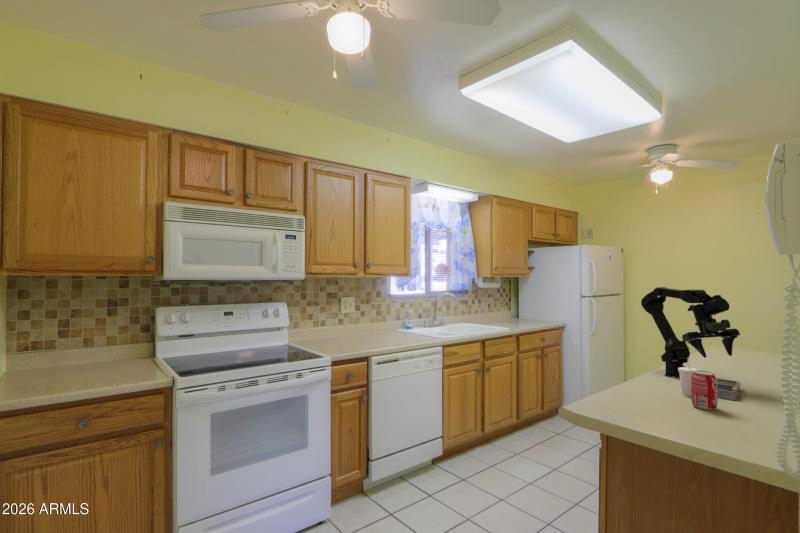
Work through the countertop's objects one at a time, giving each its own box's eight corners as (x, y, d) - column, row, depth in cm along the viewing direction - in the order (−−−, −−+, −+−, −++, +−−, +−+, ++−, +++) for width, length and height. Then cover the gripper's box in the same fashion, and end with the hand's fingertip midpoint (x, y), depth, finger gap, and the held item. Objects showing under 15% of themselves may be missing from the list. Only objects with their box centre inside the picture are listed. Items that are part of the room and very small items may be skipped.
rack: (698, 394, 150) (698, 385, 150) (706, 384, 165) (706, 376, 165) (735, 400, 143) (735, 391, 143) (740, 389, 157) (740, 381, 157)
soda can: (712, 405, 137) (712, 370, 138) (721, 412, 131) (720, 375, 131) (688, 403, 140) (687, 369, 140) (695, 409, 133) (695, 373, 133)
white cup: (680, 396, 148) (680, 358, 148) (676, 391, 154) (675, 355, 154) (701, 398, 146) (701, 360, 146) (695, 393, 152) (695, 356, 152)
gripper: (689, 315, 157) (703, 354, 151) (740, 310, 155) (757, 350, 148) (676, 322, 167) (688, 359, 161) (724, 318, 165) (739, 356, 159)
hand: (718, 356), depth 157 cm, fingers open, 9 cm apart
